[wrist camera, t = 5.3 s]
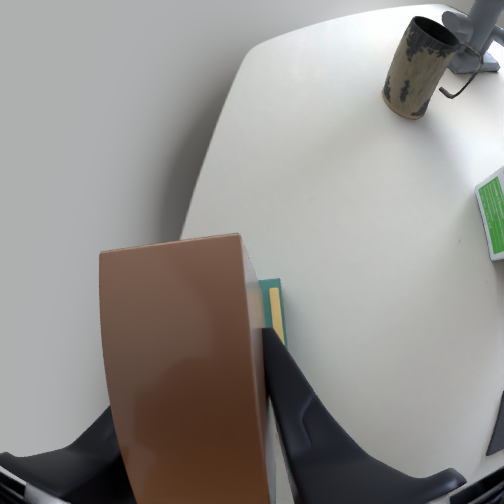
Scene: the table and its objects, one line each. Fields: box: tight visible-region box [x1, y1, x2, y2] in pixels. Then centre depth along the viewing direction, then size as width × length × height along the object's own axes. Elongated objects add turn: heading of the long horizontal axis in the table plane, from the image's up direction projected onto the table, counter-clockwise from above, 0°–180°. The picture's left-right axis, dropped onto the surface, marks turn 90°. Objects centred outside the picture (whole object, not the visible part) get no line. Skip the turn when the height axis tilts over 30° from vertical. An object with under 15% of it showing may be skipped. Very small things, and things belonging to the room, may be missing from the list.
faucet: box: [442, 0, 504, 74], centre depth 17 cm, size 18×16×20 cm
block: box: [99, 233, 276, 504], centre depth 9 cm, size 7×3×10 cm, turn 6°
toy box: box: [259, 278, 288, 350], centre depth 19 cm, size 9×5×4 cm, turn 6°
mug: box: [382, 16, 483, 119], centre depth 19 cm, size 8×6×12 cm
